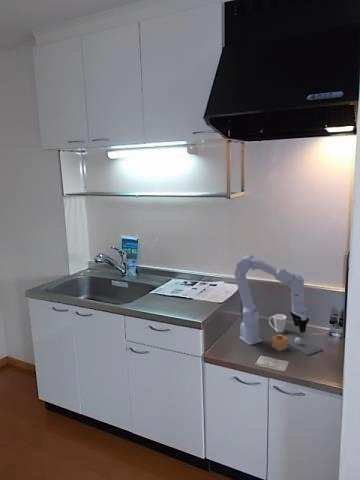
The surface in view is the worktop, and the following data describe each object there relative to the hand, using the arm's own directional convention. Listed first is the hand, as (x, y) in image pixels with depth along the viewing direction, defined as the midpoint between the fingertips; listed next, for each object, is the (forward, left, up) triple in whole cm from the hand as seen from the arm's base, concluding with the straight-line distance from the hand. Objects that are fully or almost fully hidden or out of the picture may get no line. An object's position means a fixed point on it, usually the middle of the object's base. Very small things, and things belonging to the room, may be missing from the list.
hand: (299, 328), depth 180 cm
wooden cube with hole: (-6, -6, -11) cm, 14 cm away
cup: (-21, +6, -11) cm, 25 cm away
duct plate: (-3, +4, -11) cm, 12 cm away
